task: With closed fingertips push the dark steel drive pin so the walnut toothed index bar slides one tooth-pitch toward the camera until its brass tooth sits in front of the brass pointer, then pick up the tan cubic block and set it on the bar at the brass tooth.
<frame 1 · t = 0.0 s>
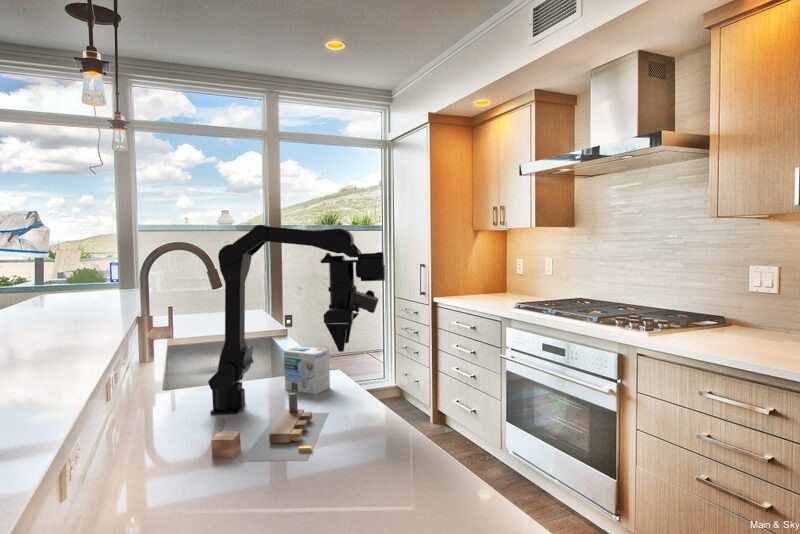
hand: (343, 347, 120), 15 cm above the worktop, fingers open, 9 cm apart
light bulb box: (307, 389, 137), on the worktop
base plate: (290, 436, 104), on the worktop
tan cubic block: (226, 456, 95), on the worktop
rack: (292, 415, 106), point 4 cm above the worktop, slide at 0.0 cm
pointer: (305, 451, 96), resting on base plate
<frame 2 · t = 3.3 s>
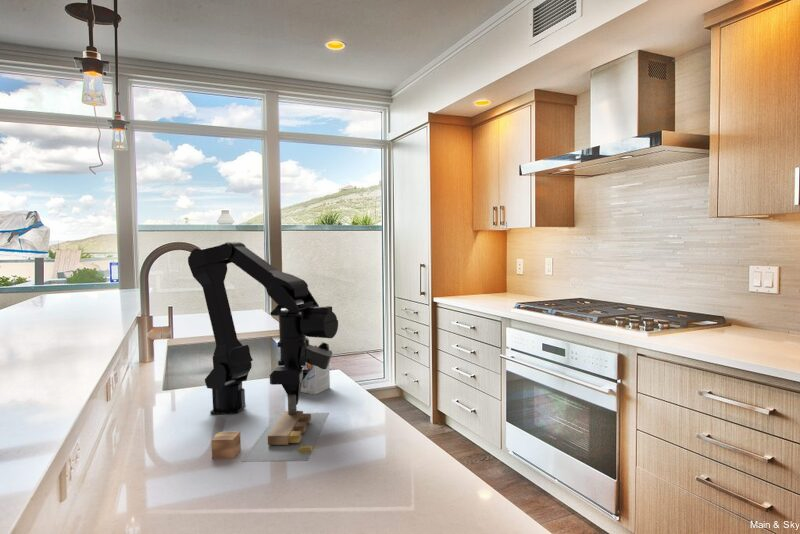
hand: (295, 404, 113), 4 cm above the worktop, fingers closed
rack: (291, 417, 105), point 4 cm above the worktop, slide at 1.0 cm, touching gripper
everything else where it was.
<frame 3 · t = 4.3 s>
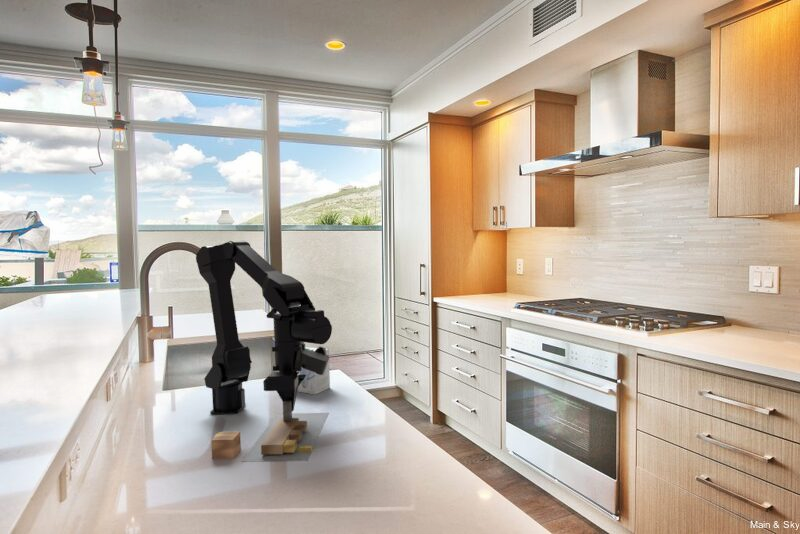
hand: (290, 411, 109), 4 cm above the worktop, fingers closed
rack: (286, 425, 101), point 4 cm above the worktop, slide at 5.4 cm, touching gripper
everything else where it was.
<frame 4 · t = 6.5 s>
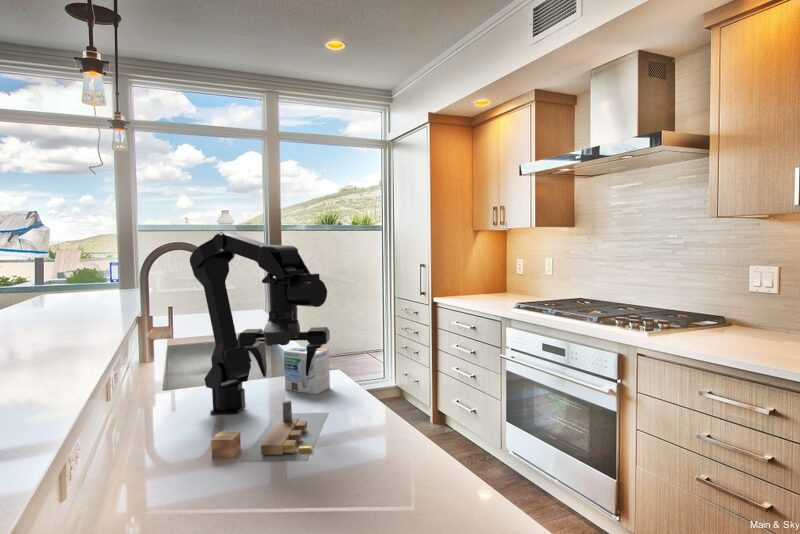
hand: (286, 376, 109), 11 cm above the worktop, fingers open, 9 cm apart
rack: (285, 425, 100), point 4 cm above the worktop, slide at 5.5 cm
everything else where it was.
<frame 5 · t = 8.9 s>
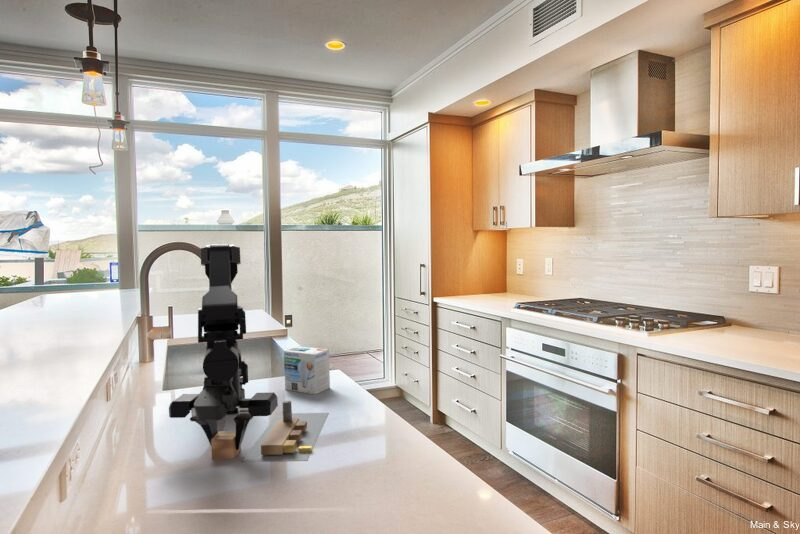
hand: (226, 449, 95), 1 cm above the worktop, fingers closed on tan cubic block, 4 cm apart
tan cubic block: (226, 455, 95), on the worktop, touching gripper
everything else where it was.
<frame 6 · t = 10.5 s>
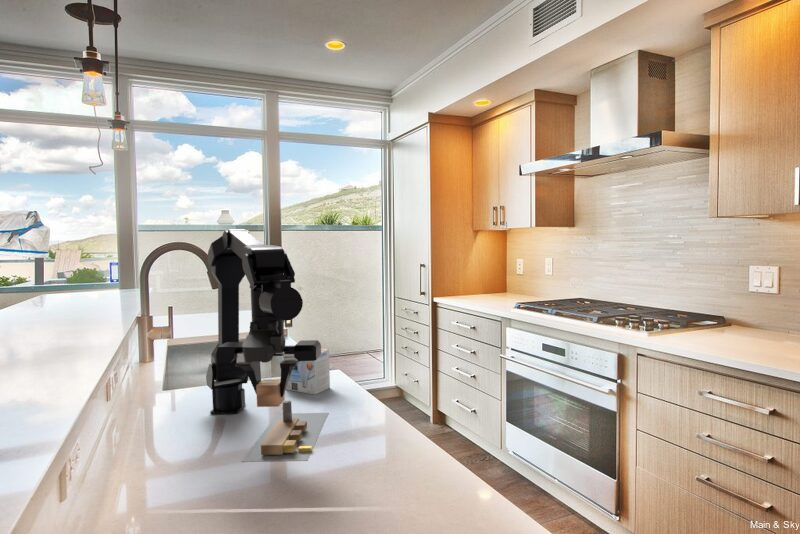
hand: (270, 396, 95), 11 cm above the worktop, fingers closed on tan cubic block, 4 cm apart
tan cubic block: (271, 403, 95), point 10 cm above the worktop, touching gripper
everything else where it was.
when the fingers open (4 cm above the worktop, at t = 12.0 s): tan cubic block stays where it is, resting on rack.
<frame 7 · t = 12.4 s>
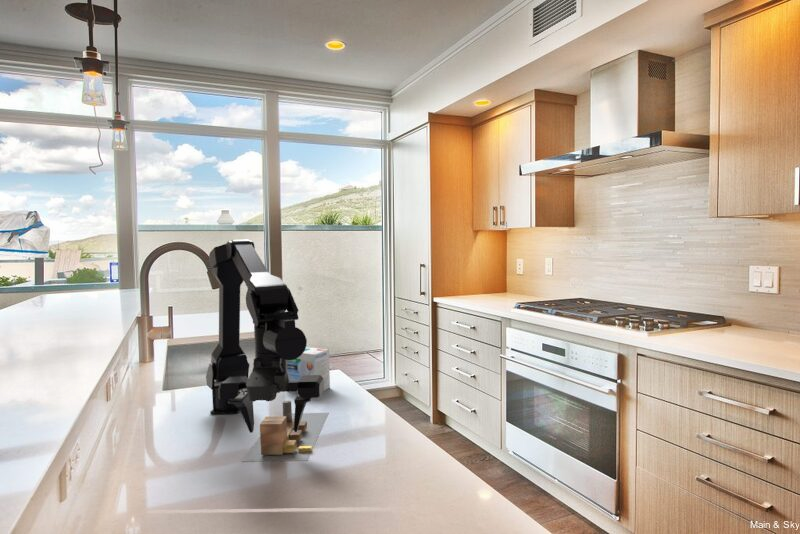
hand: (273, 431, 95), 4 cm above the worktop, fingers open, 8 cm apart
tan cubic block: (274, 440, 96), point 2 cm above the worktop, touching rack
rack: (285, 425, 100), point 4 cm above the worktop, slide at 5.5 cm, touching tan cubic block
everything else where it was.
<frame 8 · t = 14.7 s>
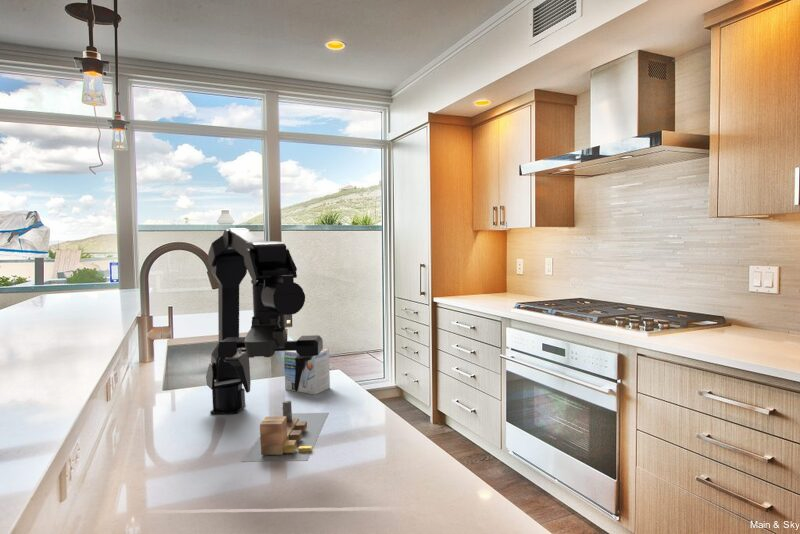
hand: (272, 391, 95), 12 cm above the worktop, fingers open, 9 cm apart
nothing on the worktop moved.
at the end: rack slide at 5.5 cm; tan cubic block 0.0 cm from the target spot, point 2.5 cm above the worktop; tan cubic block tilted 0° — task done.
